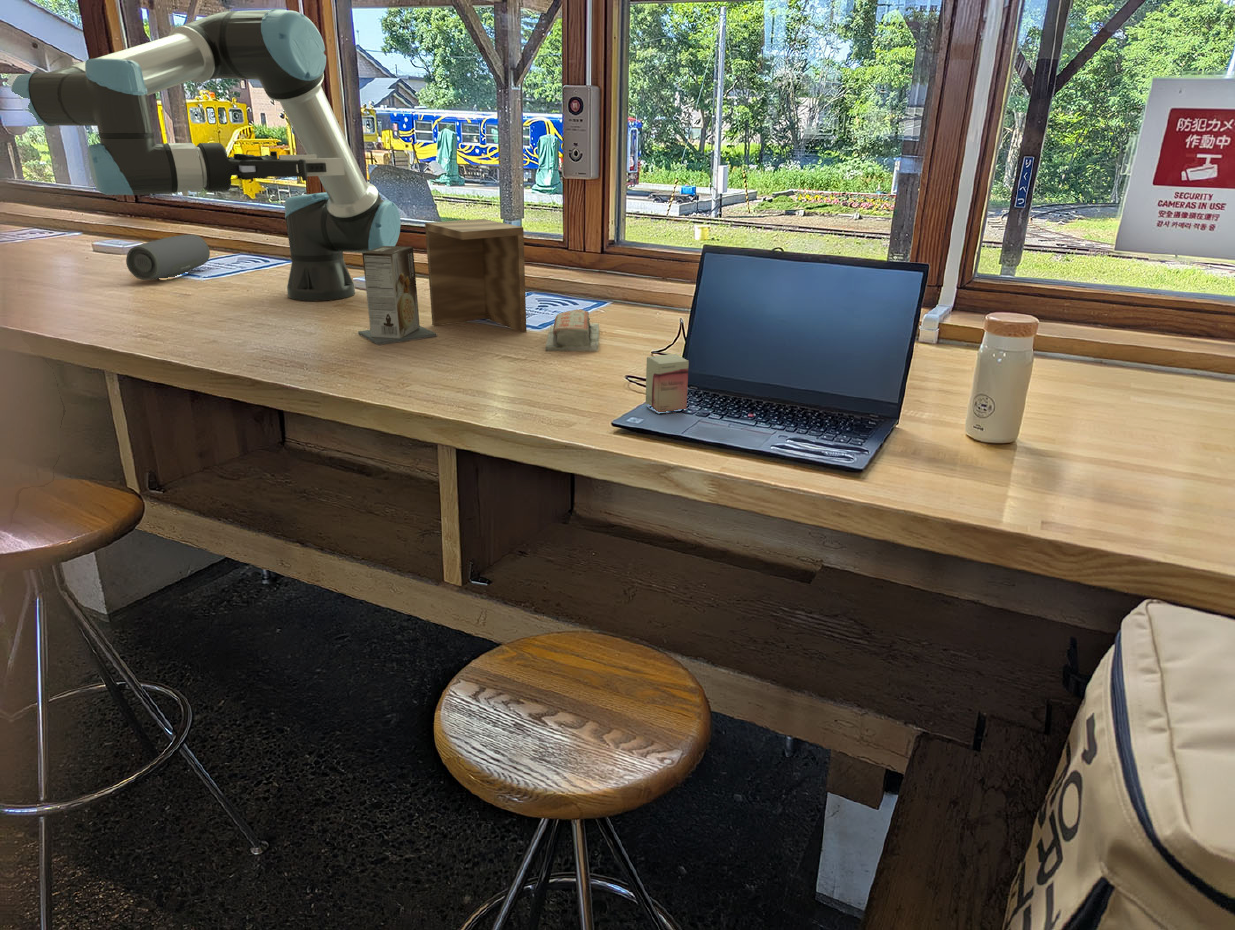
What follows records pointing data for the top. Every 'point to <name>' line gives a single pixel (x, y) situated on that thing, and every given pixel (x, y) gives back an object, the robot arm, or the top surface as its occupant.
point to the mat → (413, 335)
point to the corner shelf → (476, 272)
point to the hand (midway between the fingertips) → (329, 164)
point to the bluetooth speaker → (167, 257)
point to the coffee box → (391, 291)
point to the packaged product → (573, 332)
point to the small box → (667, 382)
